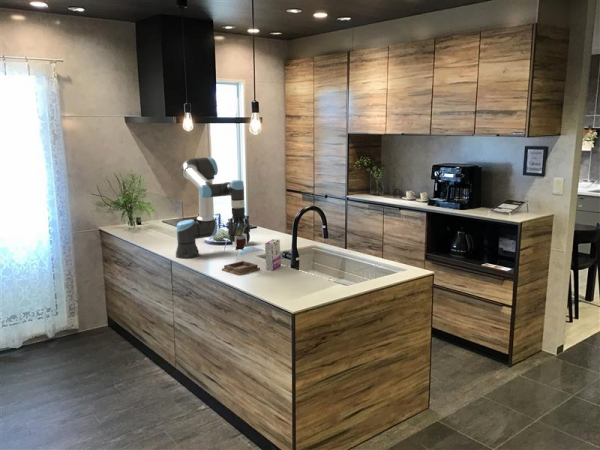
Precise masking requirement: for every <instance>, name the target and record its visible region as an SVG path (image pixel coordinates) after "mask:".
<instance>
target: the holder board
mask: <svg viewBox="0 0 600 450" xmlns="http://www.w3.org/2000/svg"><path fill="white" fill-rule="evenodd" d="M260 270H261V268H260V267H258V264H255V263H252V262H248V261H245V260H241V261H236V262H232V263H230V264H229V263H228V264H224V265H223V268H221V271H223V272H226V273H230V274H233V275H236V276H242V275H246V274H249V273H253V272H257V271H260Z"/></svg>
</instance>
